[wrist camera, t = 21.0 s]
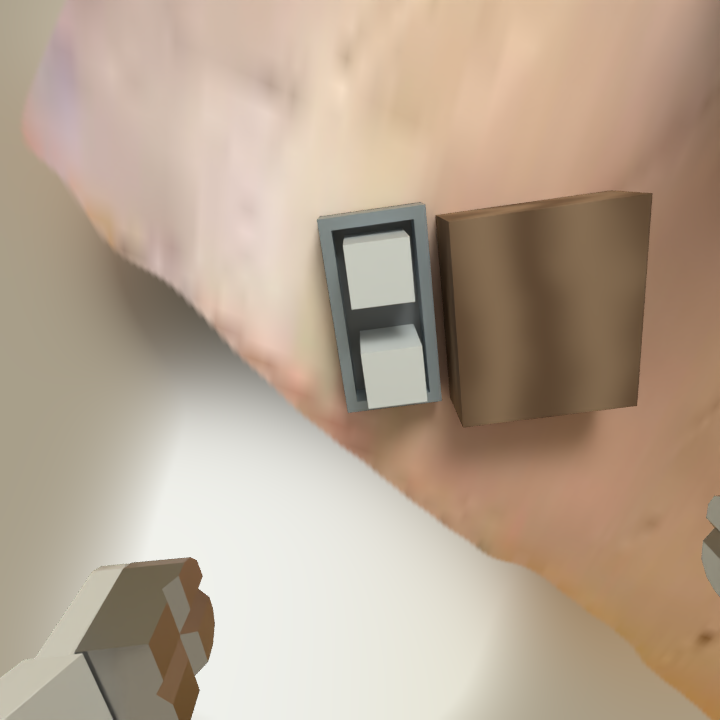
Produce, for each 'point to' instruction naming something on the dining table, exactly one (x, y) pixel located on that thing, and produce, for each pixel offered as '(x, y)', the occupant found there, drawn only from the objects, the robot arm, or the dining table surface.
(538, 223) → the square brown board
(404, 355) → the off-white small block
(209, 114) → the dining table surface
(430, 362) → the tray
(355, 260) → the white block
